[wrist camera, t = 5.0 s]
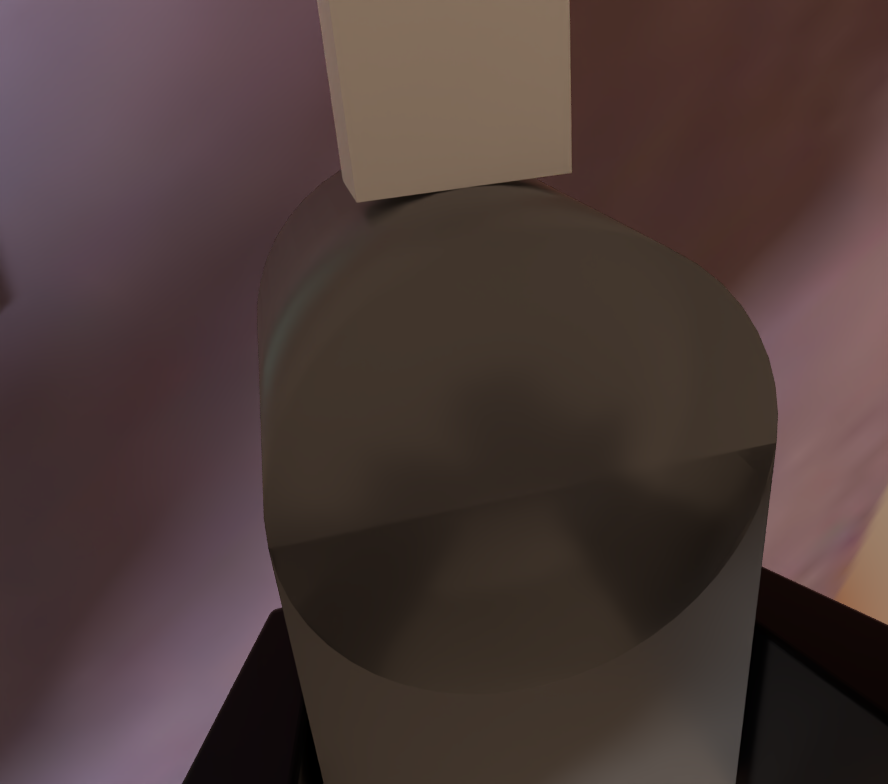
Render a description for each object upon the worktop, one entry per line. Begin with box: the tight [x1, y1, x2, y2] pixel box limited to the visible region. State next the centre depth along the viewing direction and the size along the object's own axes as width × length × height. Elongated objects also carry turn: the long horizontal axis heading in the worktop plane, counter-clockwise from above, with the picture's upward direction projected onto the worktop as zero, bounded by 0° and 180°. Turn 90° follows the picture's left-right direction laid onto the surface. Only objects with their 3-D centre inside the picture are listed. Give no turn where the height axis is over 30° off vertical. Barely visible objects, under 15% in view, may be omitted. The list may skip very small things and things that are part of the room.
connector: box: [257, 0, 778, 784], centre depth 8 cm, size 12×4×4 cm, turn 5°
